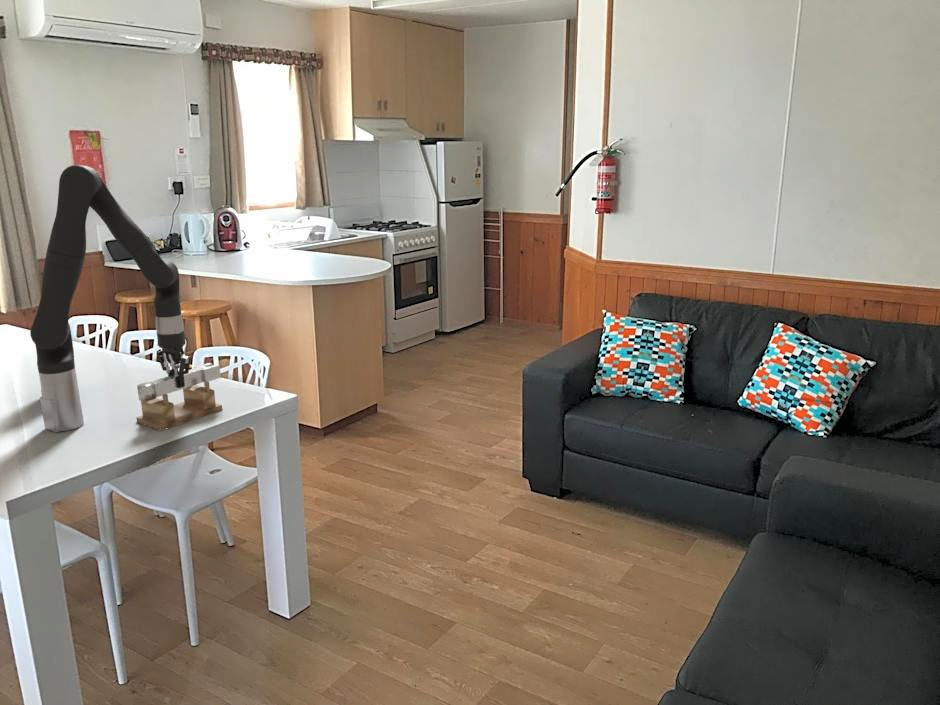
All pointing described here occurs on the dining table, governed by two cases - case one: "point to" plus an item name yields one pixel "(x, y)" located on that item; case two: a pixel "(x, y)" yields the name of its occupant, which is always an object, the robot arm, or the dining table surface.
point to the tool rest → (179, 408)
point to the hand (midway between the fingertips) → (177, 386)
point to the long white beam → (169, 383)
